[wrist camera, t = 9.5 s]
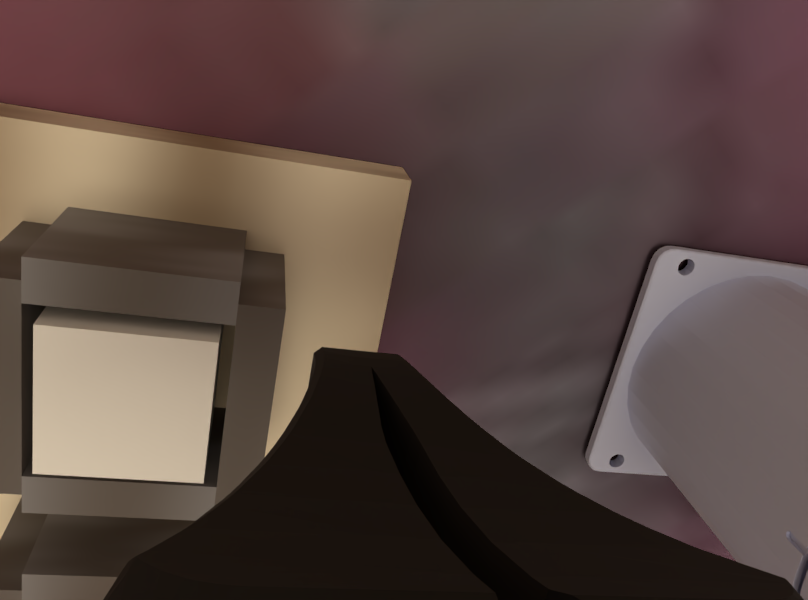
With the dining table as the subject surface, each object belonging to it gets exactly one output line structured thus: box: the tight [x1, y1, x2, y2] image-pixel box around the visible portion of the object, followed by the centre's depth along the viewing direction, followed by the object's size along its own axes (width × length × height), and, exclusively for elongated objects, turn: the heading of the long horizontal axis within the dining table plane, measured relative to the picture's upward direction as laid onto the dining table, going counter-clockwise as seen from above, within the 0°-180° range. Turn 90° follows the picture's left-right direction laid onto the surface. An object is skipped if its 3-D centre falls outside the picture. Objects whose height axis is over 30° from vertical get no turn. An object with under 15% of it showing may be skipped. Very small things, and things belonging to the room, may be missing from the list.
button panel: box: [0, 103, 411, 600], centre depth 21 cm, size 12×26×5 cm, turn 169°
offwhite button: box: [32, 306, 224, 483], centre depth 17 cm, size 4×4×3 cm
